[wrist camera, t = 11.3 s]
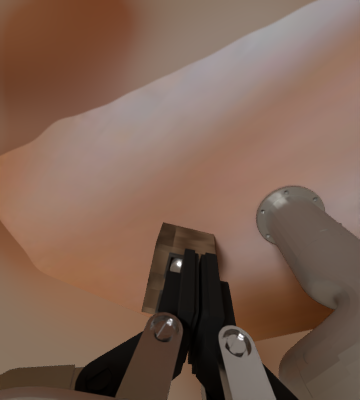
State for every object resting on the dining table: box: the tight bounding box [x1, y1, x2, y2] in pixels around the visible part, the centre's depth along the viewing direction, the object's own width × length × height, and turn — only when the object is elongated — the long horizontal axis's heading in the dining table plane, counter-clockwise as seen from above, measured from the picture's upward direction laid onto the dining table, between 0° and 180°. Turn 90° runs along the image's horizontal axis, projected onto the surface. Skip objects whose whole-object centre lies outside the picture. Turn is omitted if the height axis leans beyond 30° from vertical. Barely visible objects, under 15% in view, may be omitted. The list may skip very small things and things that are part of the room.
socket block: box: [142, 223, 216, 314], centre depth 46 cm, size 11×17×9 cm, turn 167°
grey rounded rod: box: [170, 257, 183, 273], centre depth 44 cm, size 4×4×9 cm
